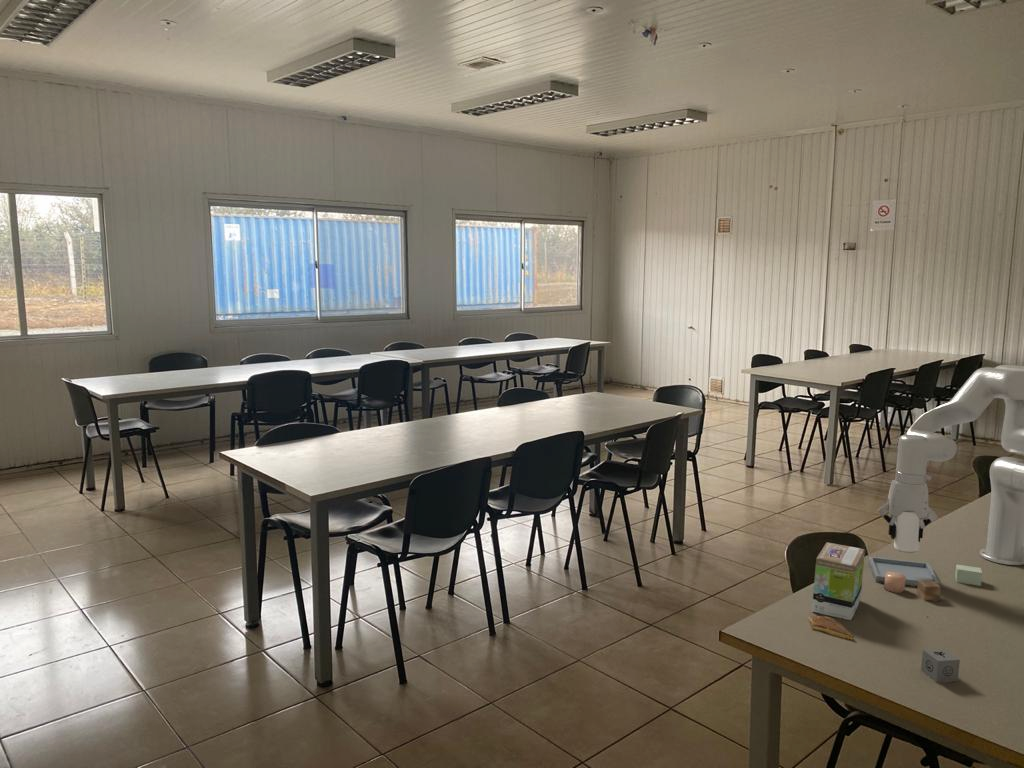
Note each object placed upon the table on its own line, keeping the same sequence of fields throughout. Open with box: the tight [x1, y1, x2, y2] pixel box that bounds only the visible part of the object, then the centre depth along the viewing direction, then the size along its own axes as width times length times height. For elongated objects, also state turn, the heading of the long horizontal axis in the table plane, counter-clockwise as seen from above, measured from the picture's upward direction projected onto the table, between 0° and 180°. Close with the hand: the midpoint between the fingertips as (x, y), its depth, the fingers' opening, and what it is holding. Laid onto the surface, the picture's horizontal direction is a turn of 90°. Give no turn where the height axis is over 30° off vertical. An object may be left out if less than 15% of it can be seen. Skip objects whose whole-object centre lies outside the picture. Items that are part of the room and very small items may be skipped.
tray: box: [868, 556, 941, 588], centre depth 221 cm, size 16×16×2 cm
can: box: [893, 511, 920, 554], centre depth 220 cm, size 6×6×12 cm
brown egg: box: [883, 572, 906, 594], centre depth 211 cm, size 5×5×4 cm
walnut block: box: [916, 581, 941, 602], centre depth 206 cm, size 4×4×4 cm
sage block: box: [954, 564, 983, 587], centre depth 217 cm, size 6×4×4 cm, turn 64°
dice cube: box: [920, 648, 961, 683], centre depth 165 cm, size 5×5×5 cm
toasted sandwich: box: [808, 615, 855, 641], centre depth 186 cm, size 11×8×2 cm
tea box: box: [811, 542, 866, 621], centre depth 199 cm, size 15×10×15 cm, turn 148°
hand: (905, 538), depth 220 cm, fingers closed on can, 5 cm apart
